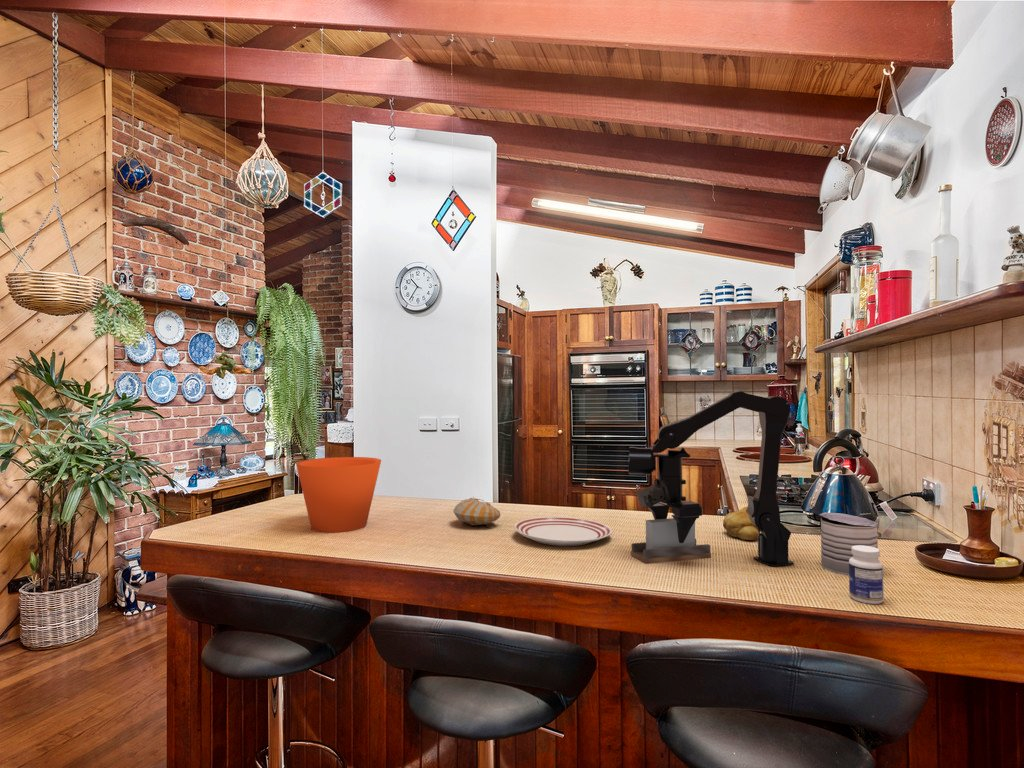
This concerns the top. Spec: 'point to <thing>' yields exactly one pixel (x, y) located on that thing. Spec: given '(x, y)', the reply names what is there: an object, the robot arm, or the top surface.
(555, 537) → the dinner plate
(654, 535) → the door panel
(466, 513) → the striped ribbed shell
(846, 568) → the can
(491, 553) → the top surface
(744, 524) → the tan lumpy piece
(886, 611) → the top surface
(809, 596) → the top surface
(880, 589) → the pill bottle
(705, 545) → the bottom track
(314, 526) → the flowerpot
